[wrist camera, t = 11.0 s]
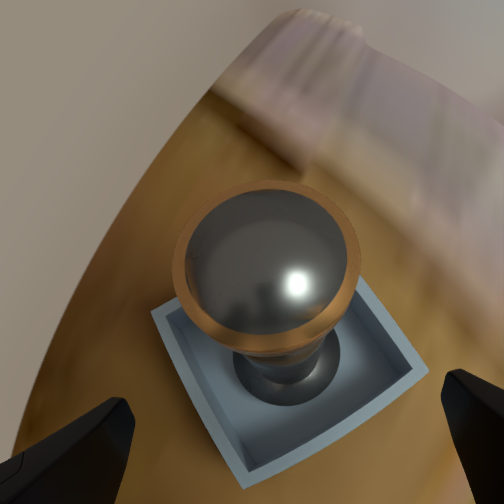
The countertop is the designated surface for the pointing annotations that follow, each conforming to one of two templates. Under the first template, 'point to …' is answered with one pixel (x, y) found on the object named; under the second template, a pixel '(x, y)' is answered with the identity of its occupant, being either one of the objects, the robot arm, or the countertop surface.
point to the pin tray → (300, 416)
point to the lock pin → (270, 284)
